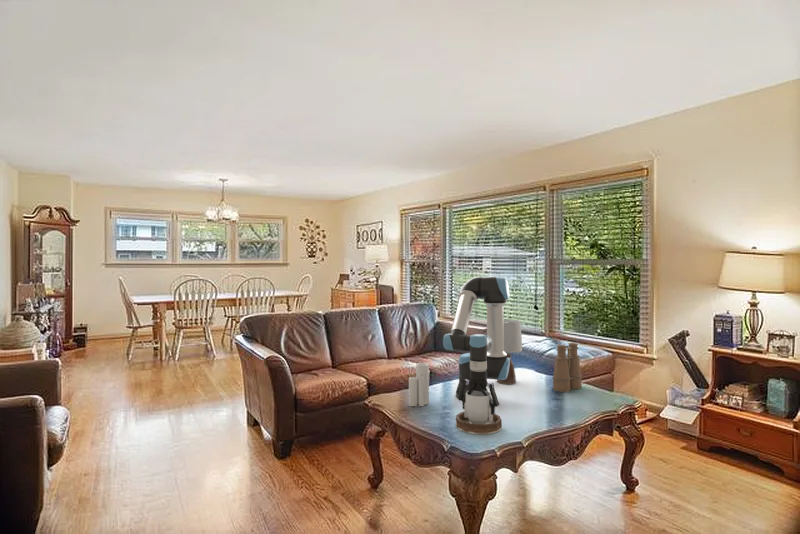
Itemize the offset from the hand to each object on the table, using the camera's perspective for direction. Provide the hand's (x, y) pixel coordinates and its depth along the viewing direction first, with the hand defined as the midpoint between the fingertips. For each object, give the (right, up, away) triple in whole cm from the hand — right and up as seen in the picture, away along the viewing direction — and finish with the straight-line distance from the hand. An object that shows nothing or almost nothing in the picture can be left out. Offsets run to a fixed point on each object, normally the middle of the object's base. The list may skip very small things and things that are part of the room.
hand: (478, 419), depth 209 cm
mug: (0, -1, 0) cm, 1 cm away
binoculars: (+61, -2, +61) cm, 86 cm away
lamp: (+29, -2, +74) cm, 80 cm away
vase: (-25, -3, +32) cm, 40 cm away
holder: (0, -3, 0) cm, 3 cm away
